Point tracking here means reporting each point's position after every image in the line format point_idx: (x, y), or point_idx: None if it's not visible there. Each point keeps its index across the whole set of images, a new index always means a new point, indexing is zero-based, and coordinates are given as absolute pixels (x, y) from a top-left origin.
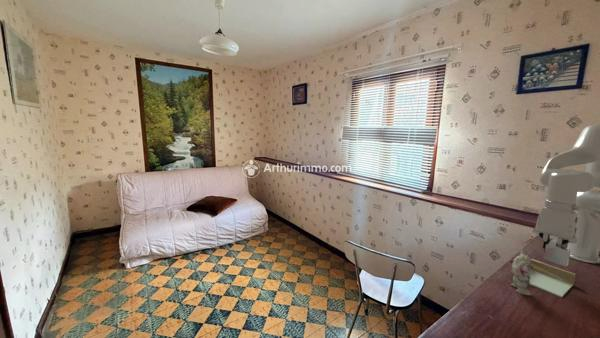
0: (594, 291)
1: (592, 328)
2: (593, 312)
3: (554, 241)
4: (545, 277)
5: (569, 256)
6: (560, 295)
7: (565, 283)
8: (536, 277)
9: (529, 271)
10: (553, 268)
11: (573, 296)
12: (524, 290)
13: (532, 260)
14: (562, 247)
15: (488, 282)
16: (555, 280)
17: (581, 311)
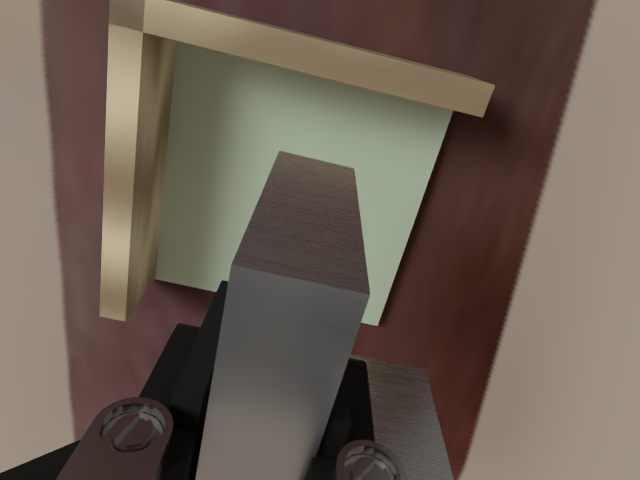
0: (575, 75)
1: (458, 470)
2: (492, 356)
3: (265, 408)
4: (295, 126)
5: (447, 456)
6: (371, 321)
7: (411, 124)
8: (246, 178)
9: (192, 103)
10: (333, 79)
11: (434, 257)
12: None
13: (160, 36)
14: None
15: (74, 408)
16: (354, 127)
17: (444, 382)
